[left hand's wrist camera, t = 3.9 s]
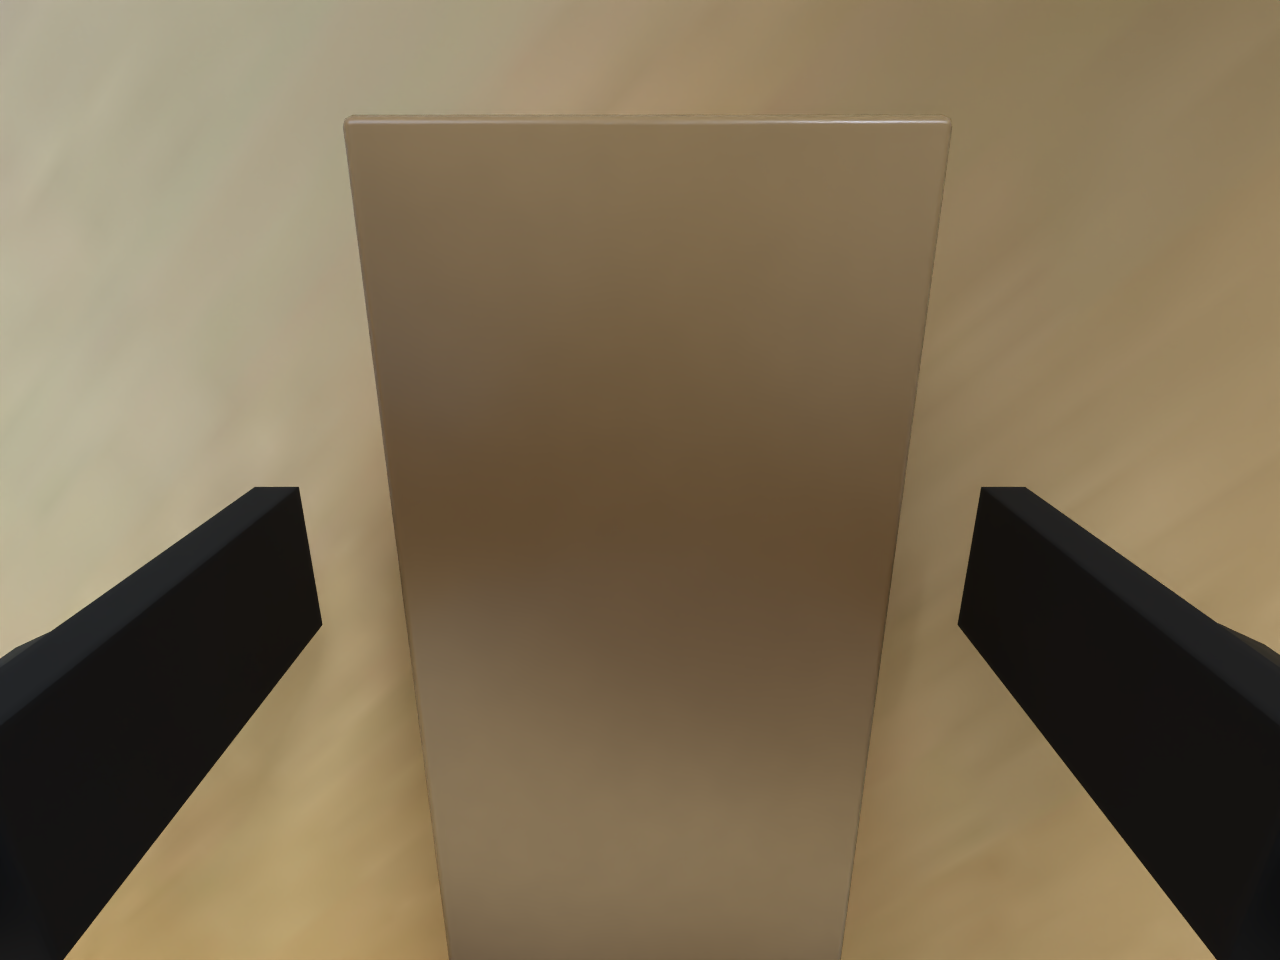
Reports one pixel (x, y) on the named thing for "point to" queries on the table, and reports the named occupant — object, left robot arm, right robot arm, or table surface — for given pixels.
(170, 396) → the table surface
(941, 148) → the bar
